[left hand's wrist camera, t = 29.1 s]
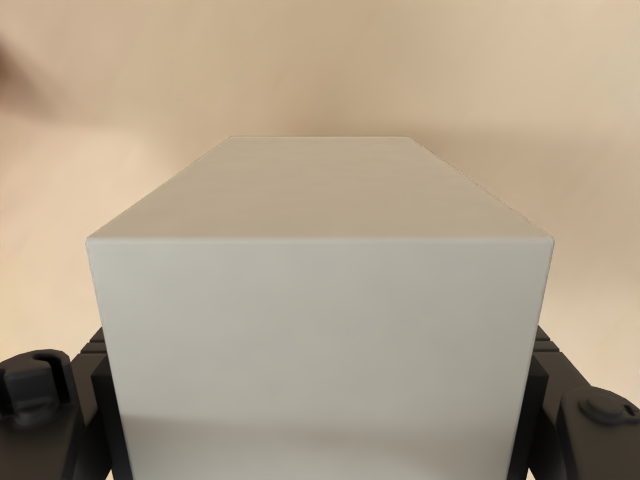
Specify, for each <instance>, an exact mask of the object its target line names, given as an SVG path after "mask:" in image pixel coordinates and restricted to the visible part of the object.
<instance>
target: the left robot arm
mask: <svg viewBox="0 0 640 480" xmlns="http://www.w3.org/2000/svg"><path fill="white" fill-rule="evenodd" d="M529 468H530V470H531V472H532V474H533V476H534V478H535V480H640V409H639V408H637V407H636V406H635V405H633V404H632V403H631V402H629V401H628V400H627V399H625V398H623V397H621V396H619V395H617V394H615V393H613V392H611V391H608V390H604V389H601V388H598V387H593V386H591V385H590V384H589V383H588V382H587V380H586V379H585V378H584V377H583V376H582V375H581V374H580V372H579V371H578V370H577V369H576V368H575V367H574V366H573V364H572V363H571V362H570V361H569V360H568V359H567V357H566V356H565V355H564V354H563V353H562V352H560V351H559V348H558V347H557V346H556V345H555V344H554V342H553V341H550V338H549V337H548V336H547V334H546V333H545V332H544V331H543V330H542V329H541V328H540V326H539V325H538V327H537V332H536V337H535V342H534V347H533V352H532V357H531V362H530V367H529V372H528V377H527V381H526V386H525V391H524V396H523V401H522V406H521V411H520V416H519V421H518V426H517V431H516V436H515V441H514V446H513V451H512V456H511V461H510V465H509V470H508V475H507V480H526V477H527V473H528V469H529ZM110 470H112V475H113V479H114V480H133V476H132V471H131V466H130V461H129V456H128V451H127V446H126V442H125V437H124V432H123V427H122V422H121V417H120V412H119V407H118V402H117V397H116V392H115V387H114V382H113V377H112V372H111V367H110V363H109V358H108V353H107V348H106V343H105V338H104V333H103V328H102V327H101V328H100V329H99V330H98V331H97V332H96V334H95V335H94V336H93V337H92V338H91V339H90V343H87V344H86V345H85V346H84V347H83V349H82V350H81V353H80V354H77V356H76V357H75V358H74V359H73V360H72V361H71V363H70V358H69V356H68V355H67V354H65V353H64V352H63V351H58V350H53V349H45V350H35V351H31V352H27V353H23V354H19V355H16V356H14V357H12V358H9V359H7V360H5V361H2V362H1V363H0V480H105V479H106V478H107V476H108V474H109V472H110Z"/></svg>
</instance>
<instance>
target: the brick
mask: <svg viewBox="0 0 640 480" xmlns="http://www.w3.org/2000/svg"><path fill="white" fill-rule="evenodd" d="M553 248H554V239H553V237H552V236H550V235H549V234H547V233H546V232H544V231H543V230H541V229H540V228H539V227H537V226H536V225H534V224H533V223H531V222H530V221H529V220H527V219H526V218H524V217H523V216H521V215H520V214H519V213H517V212H516V211H514V210H513V209H511V208H510V207H509V206H507V205H506V204H504V203H503V202H501V201H500V200H499V199H497V198H496V197H494V196H493V195H491V194H490V193H489V192H487V191H486V190H484V189H483V188H481V187H480V186H479V185H477V184H476V183H474V182H473V181H471V180H470V179H469V178H467V177H466V176H464V175H463V174H461V173H460V172H459V171H457V170H456V169H454V168H453V167H451V166H450V165H449V164H447V163H446V162H444V161H443V160H441V159H440V158H439V157H437V156H436V155H434V154H433V153H431V152H430V151H429V150H427V149H426V148H424V147H423V146H421V145H420V144H419V143H417V142H416V141H414V140H413V139H411V138H410V137H408V136H231V137H229V138H228V139H226V140H225V141H223V142H222V143H221V144H219V145H218V146H216V147H215V148H213V149H212V150H211V151H209V152H208V153H206V154H205V155H204V156H202V157H201V158H199V159H198V160H196V161H195V162H194V163H192V164H191V165H189V166H188V167H187V168H185V169H184V170H182V171H181V172H179V173H178V174H177V175H175V176H174V177H172V178H171V179H170V180H168V181H167V182H165V183H164V184H162V185H161V186H160V187H158V188H157V189H155V190H154V191H153V192H151V193H150V194H148V195H147V196H145V197H144V198H143V199H141V200H140V201H138V202H137V203H136V204H134V205H133V206H131V207H130V208H128V209H127V210H126V211H124V212H123V213H121V214H120V215H118V216H117V217H116V218H114V219H113V220H111V221H110V222H109V223H107V224H106V225H104V226H103V227H101V228H100V229H99V230H97V231H96V232H94V233H93V234H92V235H90V236H89V237H87V239H86V249H87V254H88V259H89V264H90V269H91V274H92V279H93V283H94V288H95V293H96V298H97V303H98V308H99V313H100V318H101V323H102V328H103V333H104V338H105V343H106V348H107V353H108V358H109V363H110V367H111V372H112V377H113V382H114V387H115V392H116V397H117V402H118V407H119V412H120V417H121V422H122V427H123V432H124V437H125V442H126V446H127V451H128V456H129V461H130V466H131V471H132V476H133V480H507V475H508V470H509V465H510V461H511V456H512V451H513V446H514V441H515V436H516V431H517V426H518V421H519V416H520V411H521V406H522V401H523V396H524V391H525V386H526V381H527V377H528V372H529V367H530V362H531V357H532V352H533V347H534V342H535V337H536V332H537V327H538V322H539V317H540V312H541V307H542V302H543V298H544V293H545V288H546V283H547V278H548V273H549V268H550V263H551V258H552V253H553Z"/></svg>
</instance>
